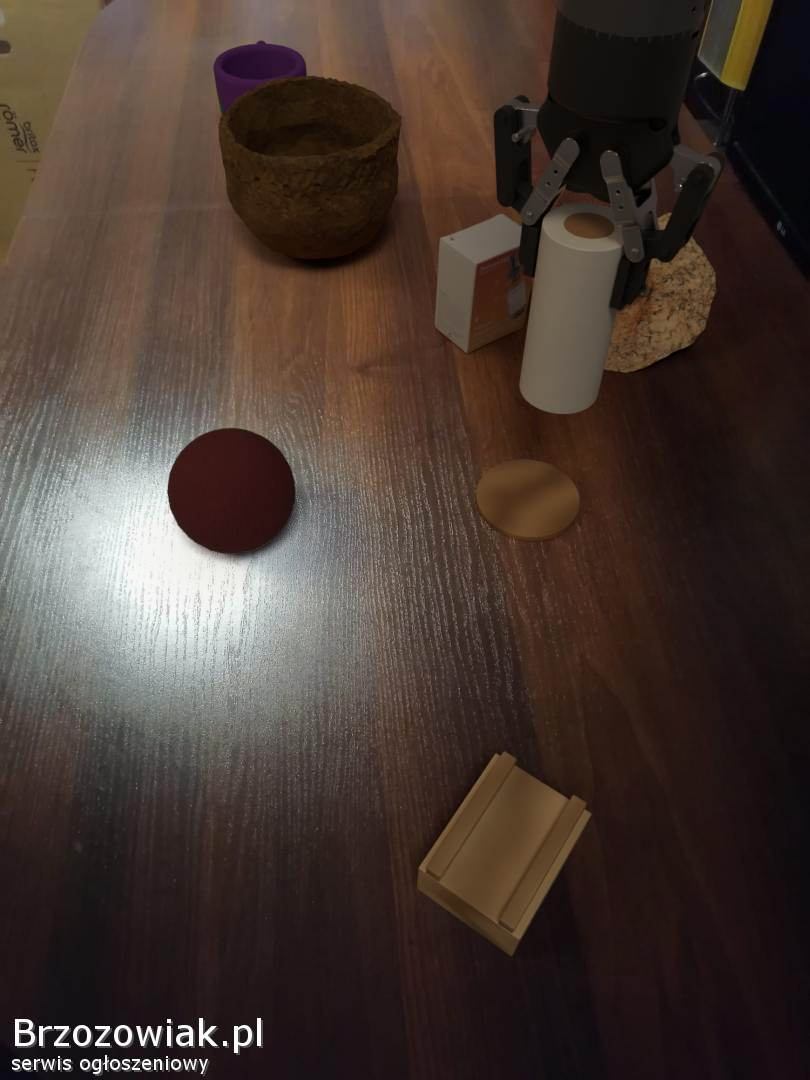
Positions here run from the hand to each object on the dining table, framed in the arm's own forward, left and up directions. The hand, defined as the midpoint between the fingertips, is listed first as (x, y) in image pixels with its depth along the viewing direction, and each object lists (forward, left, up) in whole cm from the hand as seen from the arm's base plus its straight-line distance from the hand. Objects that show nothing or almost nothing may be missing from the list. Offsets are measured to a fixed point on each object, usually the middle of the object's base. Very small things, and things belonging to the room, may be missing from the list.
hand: (577, 286), depth 57 cm
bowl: (+40, -20, -23) cm, 50 cm away
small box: (+17, -18, -23) cm, 33 cm away
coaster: (+1, 0, -22) cm, 22 cm away
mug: (+62, -37, -23) cm, 75 cm away
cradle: (-13, +28, -22) cm, 38 cm away
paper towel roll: (0, 0, -2) cm, 2 cm away
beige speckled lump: (+5, -26, -23) cm, 35 cm away
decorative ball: (+19, +17, -23) cm, 34 cm away
